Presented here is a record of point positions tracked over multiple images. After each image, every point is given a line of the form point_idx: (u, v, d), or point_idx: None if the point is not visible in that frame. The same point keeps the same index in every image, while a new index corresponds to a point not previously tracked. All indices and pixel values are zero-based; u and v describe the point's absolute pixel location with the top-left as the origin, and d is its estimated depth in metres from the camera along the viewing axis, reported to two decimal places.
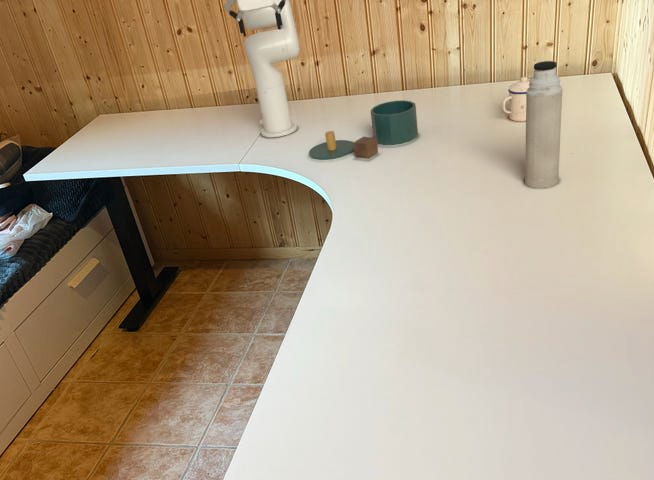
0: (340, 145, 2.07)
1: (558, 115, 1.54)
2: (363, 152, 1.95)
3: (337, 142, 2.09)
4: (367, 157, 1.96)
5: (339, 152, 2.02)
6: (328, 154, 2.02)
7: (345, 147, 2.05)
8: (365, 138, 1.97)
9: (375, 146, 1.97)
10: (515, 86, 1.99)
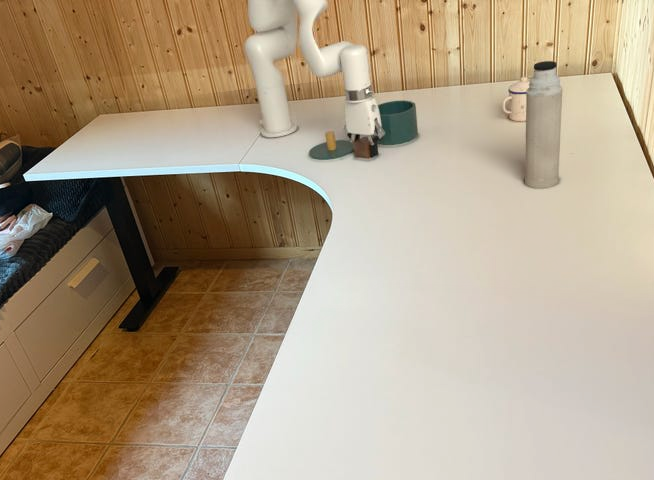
0: (340, 145, 2.07)
1: (558, 115, 1.54)
2: (363, 152, 1.95)
3: (337, 142, 2.09)
4: (367, 157, 1.96)
5: (339, 152, 2.02)
6: (328, 154, 2.02)
7: (345, 147, 2.05)
8: (365, 138, 1.97)
9: None
10: (515, 86, 1.99)
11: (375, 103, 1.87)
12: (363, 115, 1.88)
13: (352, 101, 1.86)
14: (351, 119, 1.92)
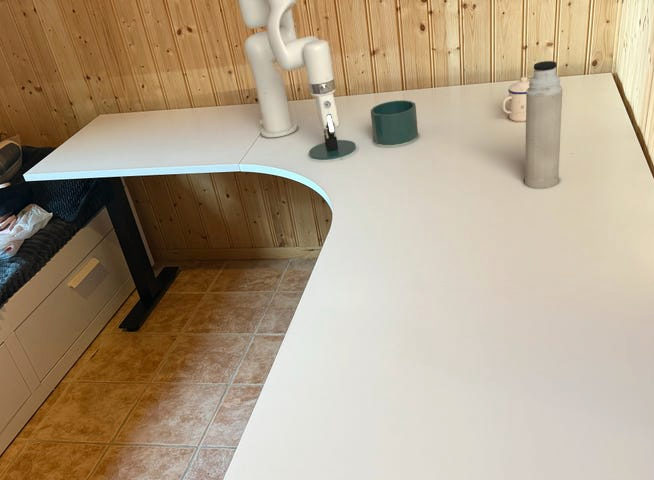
0: (340, 145, 2.07)
1: (558, 115, 1.54)
2: None
3: (337, 142, 2.09)
4: None
5: (339, 152, 2.02)
6: (328, 154, 2.02)
7: (345, 147, 2.05)
8: None
9: None
10: (515, 86, 1.99)
11: (330, 100, 1.93)
12: (318, 109, 1.95)
13: (310, 93, 1.95)
14: (317, 110, 2.00)
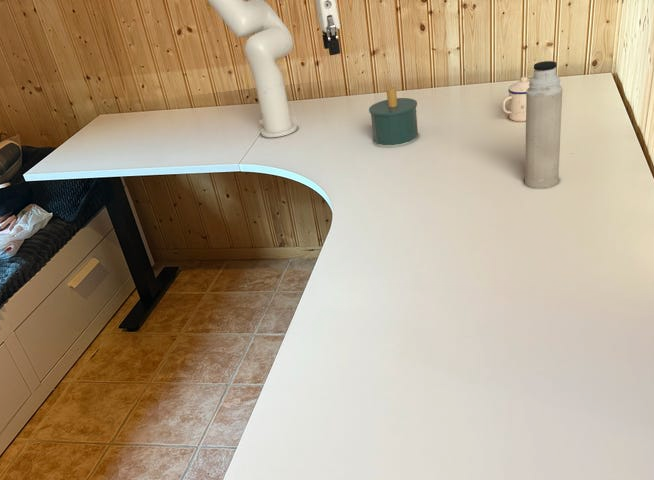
0: (400, 102, 2.02)
1: (558, 115, 1.54)
2: None
3: (397, 100, 2.05)
4: None
5: (401, 108, 1.98)
6: (390, 110, 1.98)
7: (406, 104, 2.00)
8: None
9: None
10: (515, 86, 1.99)
11: None
12: (319, 10, 1.91)
13: None
14: (317, 13, 1.95)
